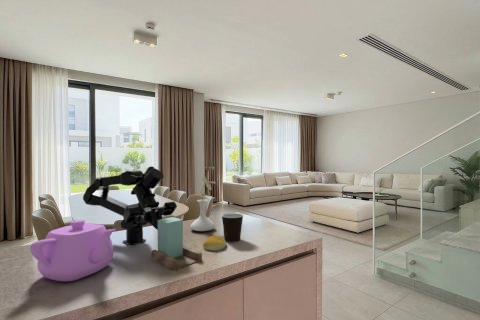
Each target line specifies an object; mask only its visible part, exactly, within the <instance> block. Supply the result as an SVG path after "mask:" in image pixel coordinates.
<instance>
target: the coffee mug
mask: <svg viewBox="0 0 480 320" xmlns="http://www.w3.org/2000/svg"><path fill="white" fill-rule="evenodd" d="M243 218H244V214H241V213H236V212H235V213H233V212H229V213H224V214H222V215H221V221H222V228H223V229H222V231H223V238H224V239H225V241H226V243H238V242H240V241H241V236H242V235H241V233H242V226H243Z"/></svg>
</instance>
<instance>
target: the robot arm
mask: <svg viewBox="0 0 480 320" xmlns="http://www.w3.org/2000/svg"><path fill="white" fill-rule="evenodd" d="M163 178H165V177H164V174H163V172H162V171H161V170H159V169H157V168H155V166H148V168H147V169H146V171H145V172H143V171H142V170H141V169H140V170H126V171H124V172H121V173H120V174H118V175H113V176H104V177H103V176H101V177H97V178H95V179H94V182H93V183H92V184H90V185H89V186H88V187H87V188H86V190H85V192H84V194H83V196H82V199H83V202H84V203H85V205H88V206H96V207H97V206H100V207H101V208H104V209H106V210H108V211H111V212H113V213H114V214H118V215H119V216H121V217H123V219H122V221H121V222H120V227H121V229H125V231H126V232H125V234H126V237H125V238H126V239H125V240H122V243H124V244H126V245H130V246H134V245H137V244H138V245H139V244H140V243H141V244H142V243H144V242H147V239H146V238H144V231H143V229H144V226H146V225H147V224H150V225H151V226H152V227H153V228H154V229H155V230H157V231H158V220H160V219H163V216H164V217H167V216H171V215H173V213H174V212H175V210H176V209H177V207H178V205H177V203H176V201H168V202H165V203H164V204H163V205H162V206H159V205H160V201H157V200H156V198H155V197H156V193H155V192H154V193H153V192H152V189H155V188H156V187H157V186H158V185H159V183H160V182H161V181H162V180H163ZM113 185H114V186H115V185H122V186H126V187H127V186H134V187H132V189H131V192H130V195H131V196H132V195H133V196H134V195H135V196H136V199H137V201H138V202H137V203H134V204H133V203H132V204H126V203H125V202H122V201H120V200H117V199H115V198H113V197H111V196H109V192H110V189H109V187H110V186H113ZM100 188H102V189H100Z"/></svg>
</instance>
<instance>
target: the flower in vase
mask: <svg viewBox="0 0 480 320" xmlns="http://www.w3.org/2000/svg"><path fill="white" fill-rule="evenodd" d="M201 178H202V181H203V183H204V184H203V187H202V189H201V191H200V193H201V196H200V198H201V199H197V200H196V201H197V202H198V205H199V209H200V210H199V216H198V217H197V218H196V219H195V220H194V221H193V222H192V223H191V224H190V229H191V230H193V231H196V232H208V231H211V230H213V229H214V228H215V227H216V224H215V223H214V222H213V221H212V220H211V219H210V218H208V217H207V215H206V205H207V203H208V200H209V199H204V197H205V196H207V194H206V193H203V190H204V188H205V186H206V188H207V189H209V190H210V191H212V190H213V189H212V185H211V184H210V181H209V180H208V179H207V178H206V176H204V175H202V177H201Z"/></svg>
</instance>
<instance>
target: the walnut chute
mask: <svg viewBox="0 0 480 320" xmlns="http://www.w3.org/2000/svg"><path fill="white" fill-rule="evenodd" d="M150 258H151V259H152V260H154V261H155V262H157V263H159V264H161V265H162V266H165V267H167V268H169V269H171V270H172V271H177V270H179V269H182V268H185V267H188V266H190V265H193V264H194V265H195V264H197V263H199V262H201V261H203V253H202V252H201V251H199V250H196V249H193V248H191V247H188V246H186V245H183V255H181V256H178V257H175V258H172V257H170V256H168V255H166V254H163V253H161V252H159V251H158V249H157V250H156V249H151V251H150Z"/></svg>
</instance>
